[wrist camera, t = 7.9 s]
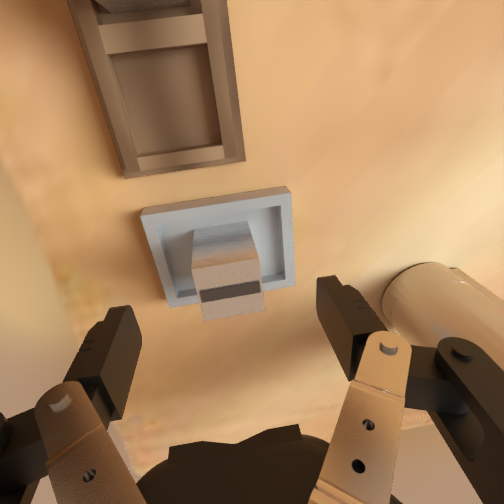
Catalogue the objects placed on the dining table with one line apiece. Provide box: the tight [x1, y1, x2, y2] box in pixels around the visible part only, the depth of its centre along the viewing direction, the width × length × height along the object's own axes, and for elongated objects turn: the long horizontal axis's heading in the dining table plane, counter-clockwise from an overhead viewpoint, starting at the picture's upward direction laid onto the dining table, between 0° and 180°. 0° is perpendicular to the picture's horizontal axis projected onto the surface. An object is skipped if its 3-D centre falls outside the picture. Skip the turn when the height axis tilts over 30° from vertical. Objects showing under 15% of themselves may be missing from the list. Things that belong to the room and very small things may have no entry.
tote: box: [140, 186, 296, 308], centre depth 29 cm, size 13×10×2 cm
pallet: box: [67, 0, 246, 179], centre depth 20 cm, size 10×18×2 cm, turn 7°
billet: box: [191, 221, 265, 322], centre depth 26 cm, size 5×5×7 cm
